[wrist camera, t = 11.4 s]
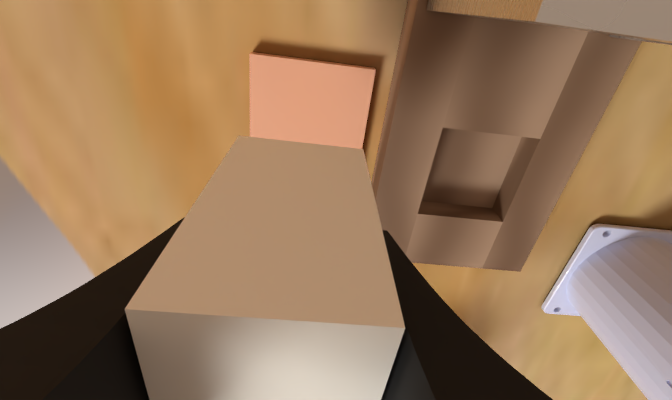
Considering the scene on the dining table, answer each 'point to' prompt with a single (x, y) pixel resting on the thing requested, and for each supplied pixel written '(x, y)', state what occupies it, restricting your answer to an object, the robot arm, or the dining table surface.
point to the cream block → (272, 284)
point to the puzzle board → (486, 132)
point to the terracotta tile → (309, 100)
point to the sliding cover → (576, 15)
